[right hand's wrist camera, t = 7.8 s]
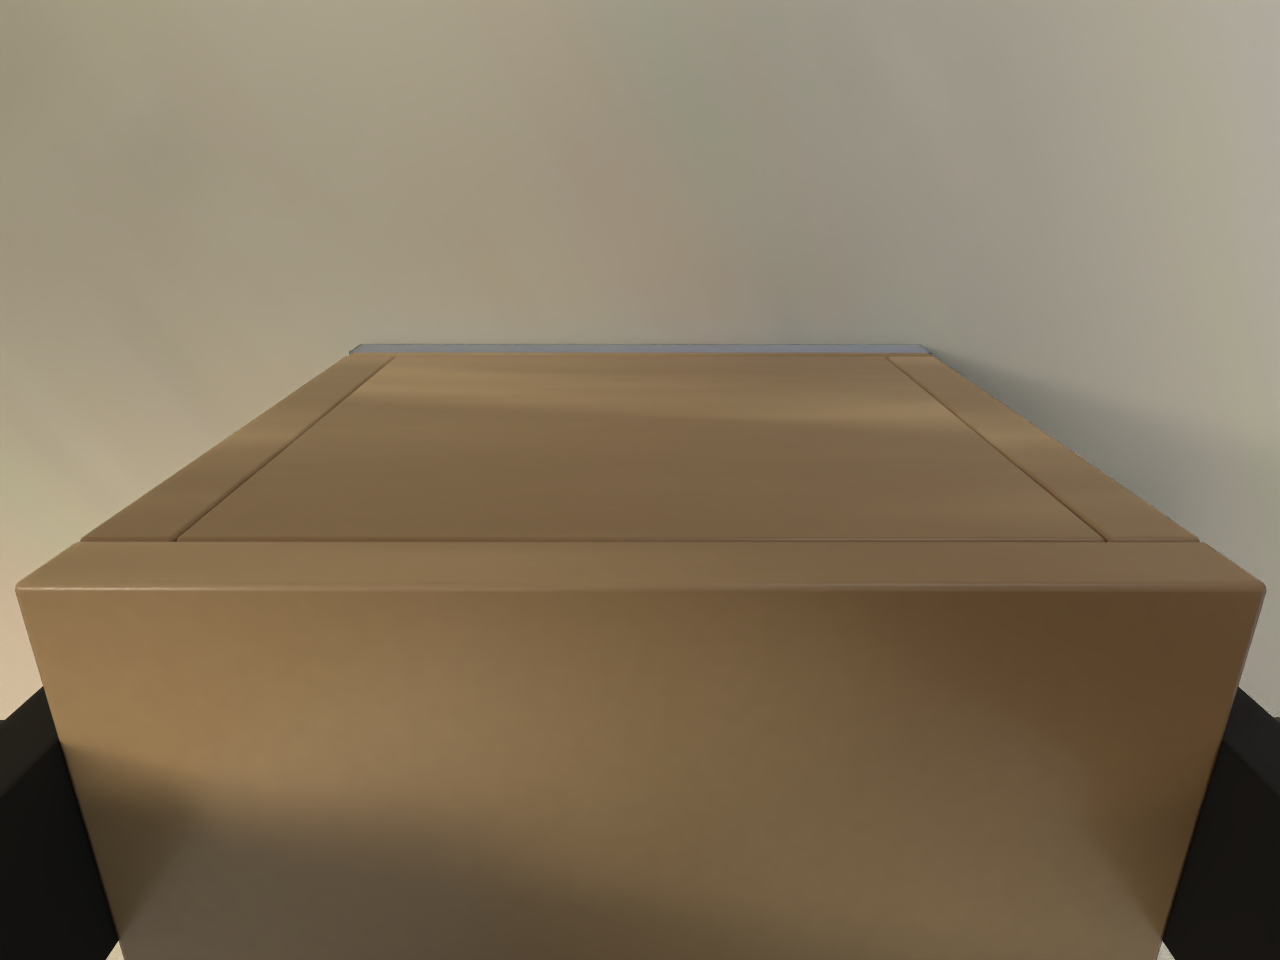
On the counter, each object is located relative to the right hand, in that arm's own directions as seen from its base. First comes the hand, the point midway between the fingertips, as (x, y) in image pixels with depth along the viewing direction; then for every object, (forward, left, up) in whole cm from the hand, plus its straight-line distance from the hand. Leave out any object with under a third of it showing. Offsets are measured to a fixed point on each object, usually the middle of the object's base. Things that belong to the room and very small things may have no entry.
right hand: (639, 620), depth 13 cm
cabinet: (+2, -5, -6) cm, 8 cm away
